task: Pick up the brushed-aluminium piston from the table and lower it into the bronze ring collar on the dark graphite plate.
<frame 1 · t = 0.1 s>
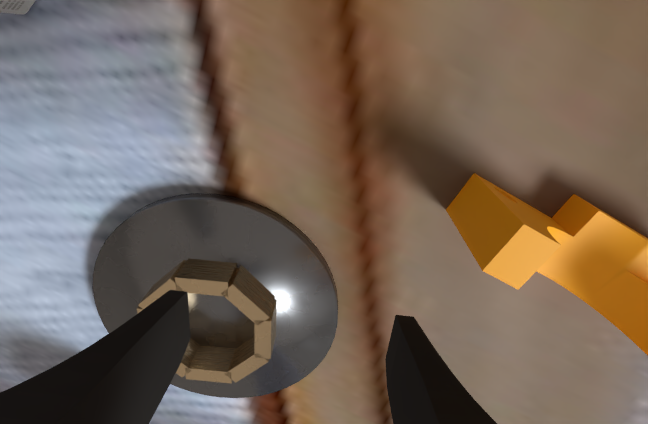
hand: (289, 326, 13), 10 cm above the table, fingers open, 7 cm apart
ring collar: (220, 302, 25), on the table
pipe clamp: (549, 224, 22), on the table
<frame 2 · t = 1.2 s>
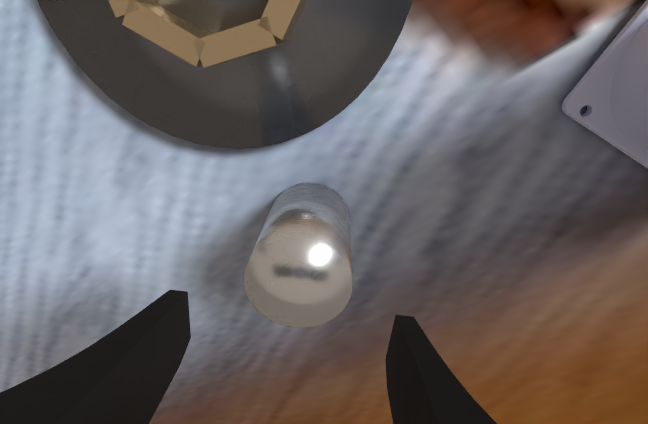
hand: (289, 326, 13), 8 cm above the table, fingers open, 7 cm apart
piston: (310, 220, 20), on the table
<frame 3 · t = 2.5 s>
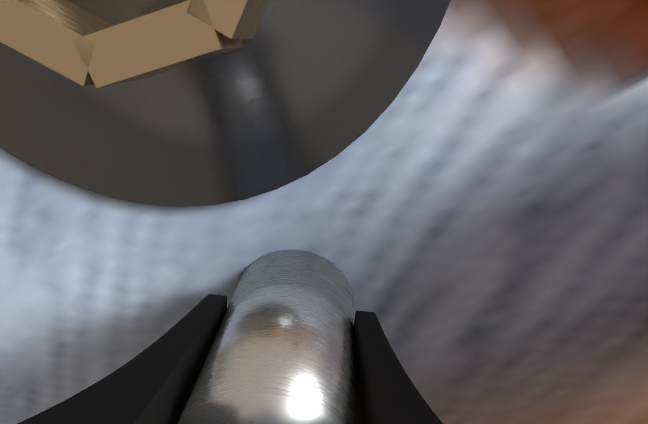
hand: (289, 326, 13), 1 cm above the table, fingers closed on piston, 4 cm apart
piston: (294, 299, 14), on the table, touching gripper
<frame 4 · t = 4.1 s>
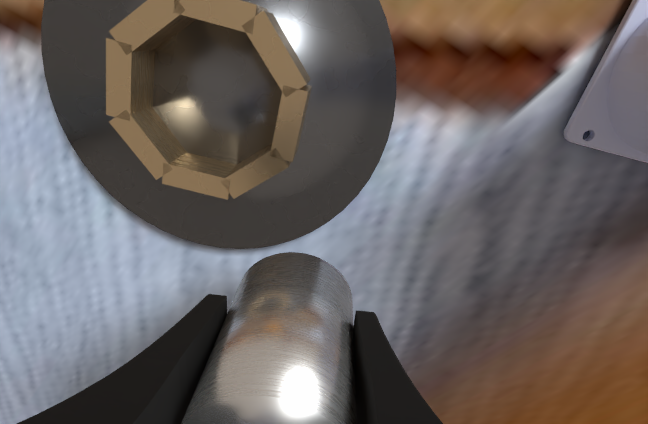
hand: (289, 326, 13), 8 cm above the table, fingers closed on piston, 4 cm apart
ring collar: (225, 93, 18), on the table
piston: (295, 301, 14), point 7 cm above the table, touching gripper
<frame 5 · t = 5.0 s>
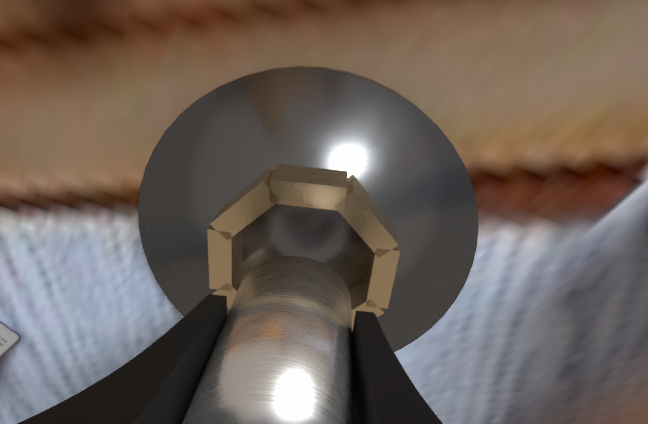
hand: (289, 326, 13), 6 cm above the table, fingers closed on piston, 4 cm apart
ring collar: (307, 237, 19), on the table
piston: (294, 304, 14), point 5 cm above the table, touching gripper
when the fingers open (4 cm above the table, at t = 5.9 s): piston drops 1 cm, resting on ring collar.
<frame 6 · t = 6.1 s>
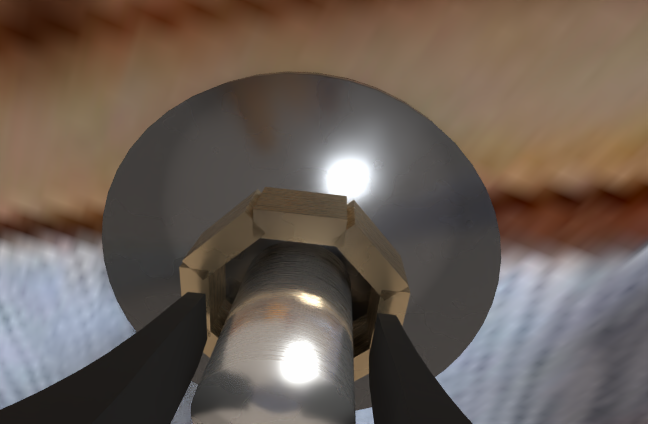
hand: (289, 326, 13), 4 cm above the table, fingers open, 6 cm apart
ring collar: (300, 268, 16), on the table
piston: (297, 287, 15), point 1 cm above the table, touching ring collar
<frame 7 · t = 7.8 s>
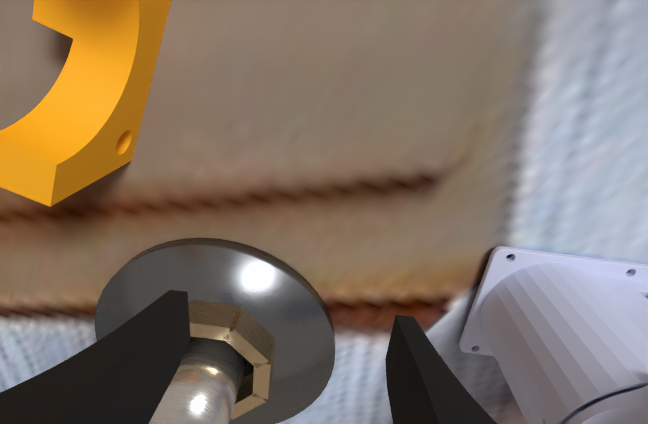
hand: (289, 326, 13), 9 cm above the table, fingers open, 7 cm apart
ring collar: (219, 339, 26), on the table
piston: (215, 353, 25), point 1 cm above the table, touching ring collar
pipe clamp: (118, 33, 18), on the table
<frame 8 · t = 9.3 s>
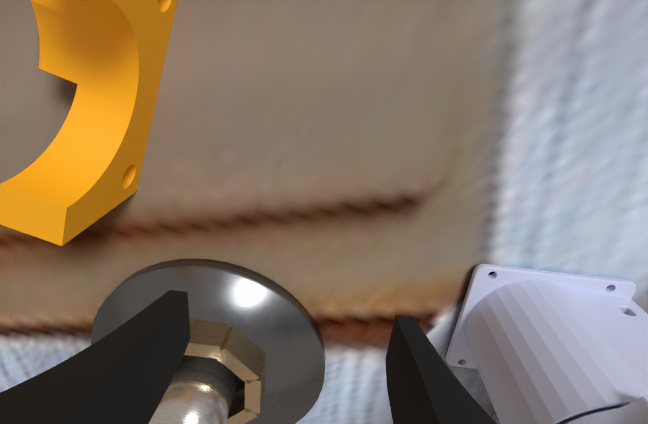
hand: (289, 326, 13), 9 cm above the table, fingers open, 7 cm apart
ring collar: (213, 354, 26), on the table
piston: (208, 369, 26), point 1 cm above the table, touching ring collar
pipe clamp: (120, 73, 19), on the table
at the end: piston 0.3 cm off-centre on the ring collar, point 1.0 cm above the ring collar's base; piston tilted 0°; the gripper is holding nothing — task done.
